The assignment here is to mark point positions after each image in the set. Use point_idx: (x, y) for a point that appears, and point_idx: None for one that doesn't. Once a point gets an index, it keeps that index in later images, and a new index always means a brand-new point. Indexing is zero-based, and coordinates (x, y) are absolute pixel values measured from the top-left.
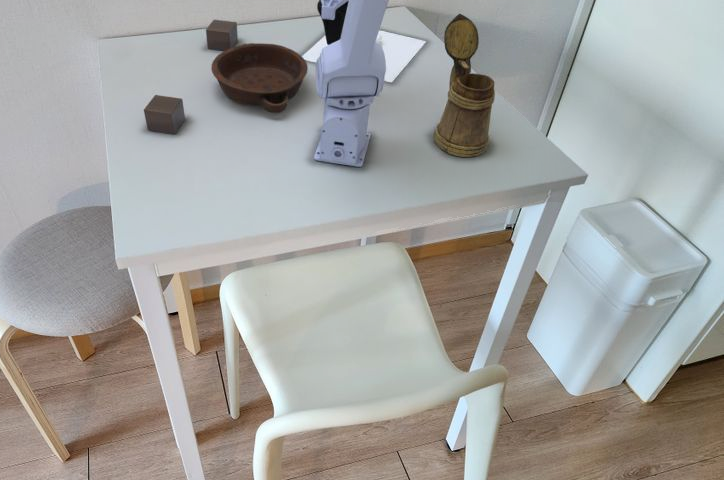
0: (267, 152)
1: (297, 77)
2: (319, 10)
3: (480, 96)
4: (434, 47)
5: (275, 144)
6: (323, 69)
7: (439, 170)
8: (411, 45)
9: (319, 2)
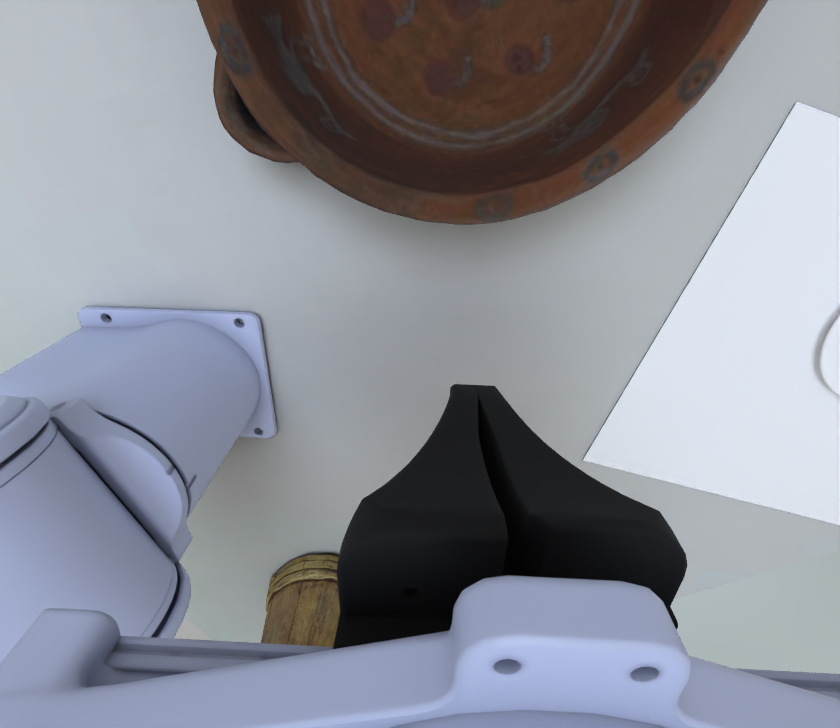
0: (36, 138)
1: (403, 188)
2: (352, 520)
3: None
4: (810, 546)
5: (97, 157)
6: None
7: (207, 561)
8: (835, 495)
9: (438, 547)
